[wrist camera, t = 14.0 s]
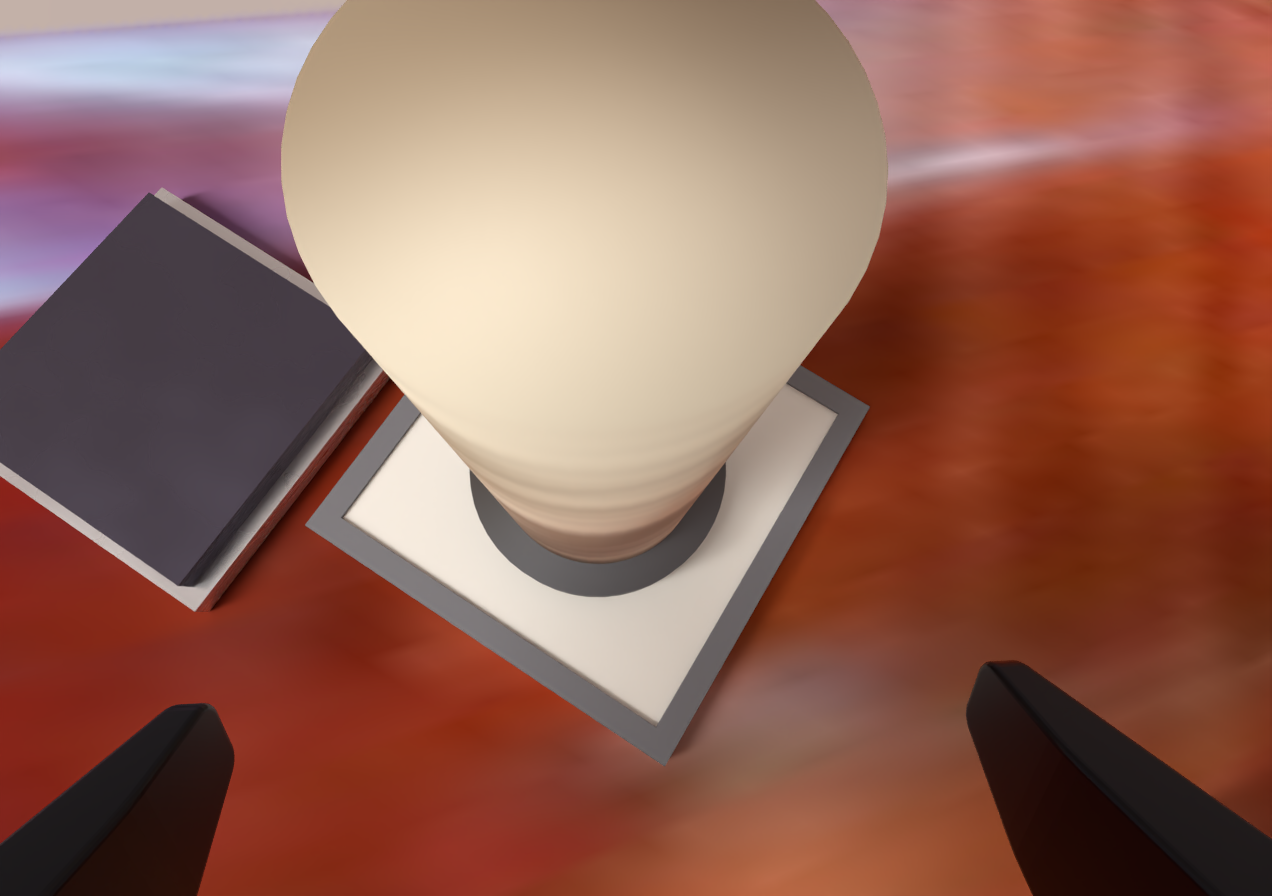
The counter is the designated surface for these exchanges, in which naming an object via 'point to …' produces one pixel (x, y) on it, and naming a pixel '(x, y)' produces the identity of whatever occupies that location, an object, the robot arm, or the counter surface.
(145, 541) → the ink pad
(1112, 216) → the counter surface
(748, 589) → the marked board
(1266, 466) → the counter surface
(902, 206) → the counter surface
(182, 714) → the robot arm
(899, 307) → the counter surface
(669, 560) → the stamp
